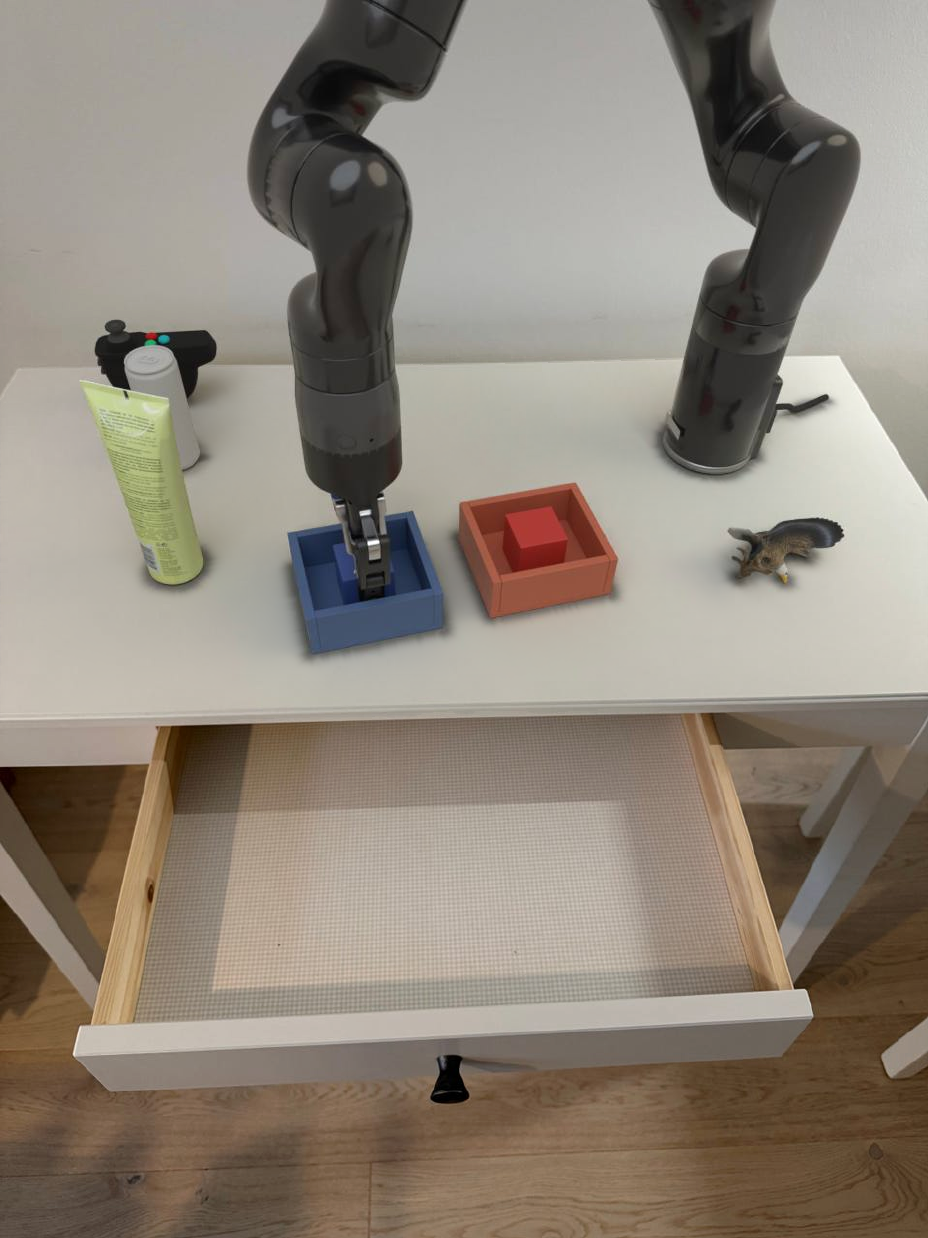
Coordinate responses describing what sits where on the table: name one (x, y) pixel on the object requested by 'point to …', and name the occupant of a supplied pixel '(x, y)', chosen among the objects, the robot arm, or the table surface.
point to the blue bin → (374, 618)
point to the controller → (184, 345)
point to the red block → (533, 539)
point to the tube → (149, 477)
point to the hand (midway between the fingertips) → (364, 574)
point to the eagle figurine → (784, 543)
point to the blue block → (353, 576)
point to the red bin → (544, 586)
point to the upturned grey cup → (164, 393)
